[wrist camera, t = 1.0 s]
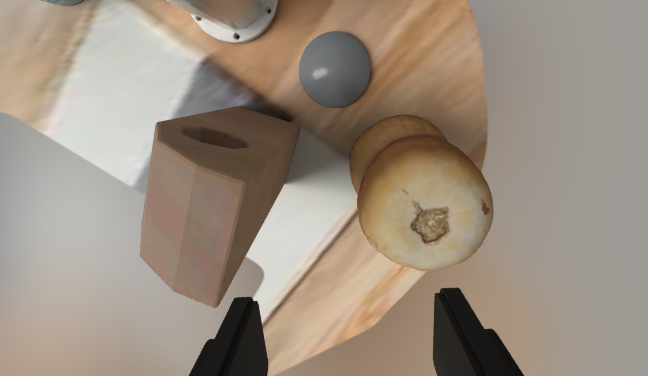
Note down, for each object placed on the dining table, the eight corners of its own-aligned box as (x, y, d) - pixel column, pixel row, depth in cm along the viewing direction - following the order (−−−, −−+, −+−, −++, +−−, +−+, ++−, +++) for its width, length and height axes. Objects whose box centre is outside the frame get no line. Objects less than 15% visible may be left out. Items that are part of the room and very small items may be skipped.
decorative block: (284, 184, 51) (216, 310, 22) (224, 166, 50) (76, 271, 22) (301, 125, 48) (248, 182, 19) (237, 105, 47) (86, 134, 19)
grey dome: (296, 36, 44) (295, 35, 44) (368, 29, 44) (368, 28, 43) (303, 109, 47) (303, 110, 47) (371, 104, 47) (371, 104, 46)
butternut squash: (343, 119, 47) (349, 151, 24) (434, 105, 46) (538, 125, 22) (354, 205, 51) (369, 307, 28) (438, 195, 50) (529, 291, 27)
